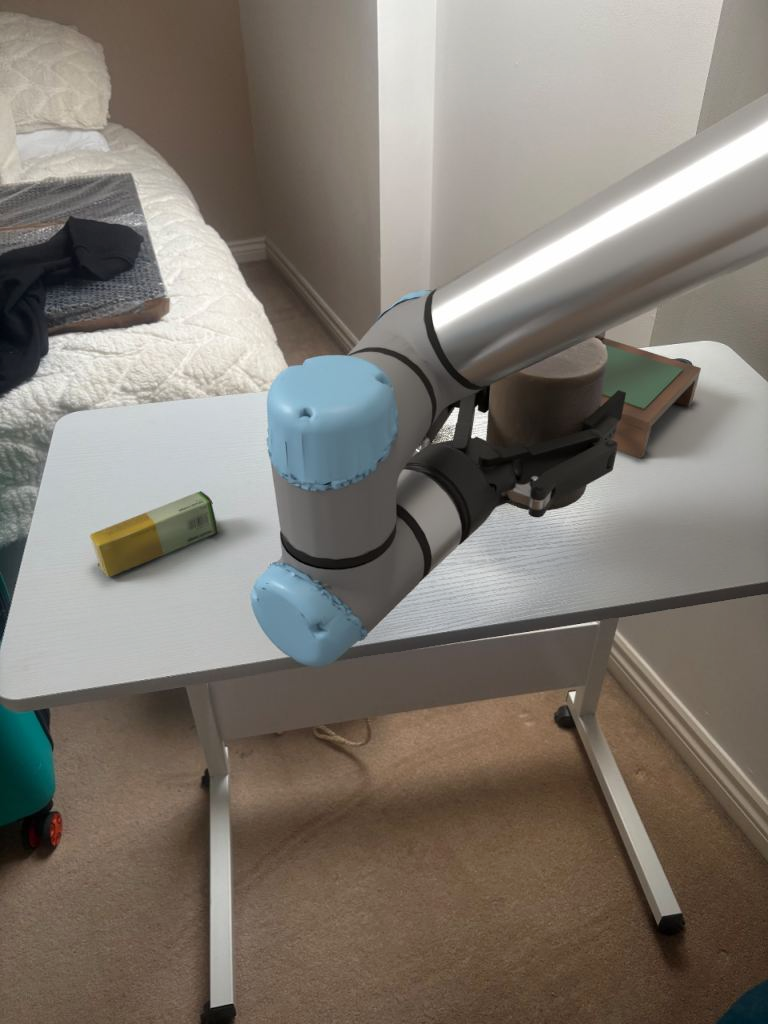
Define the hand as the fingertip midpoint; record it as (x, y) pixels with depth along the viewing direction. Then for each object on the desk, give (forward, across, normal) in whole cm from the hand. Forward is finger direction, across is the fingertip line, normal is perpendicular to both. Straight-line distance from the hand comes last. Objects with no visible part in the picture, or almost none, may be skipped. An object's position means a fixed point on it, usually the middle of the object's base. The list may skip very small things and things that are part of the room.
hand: (567, 386), depth 76 cm
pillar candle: (-4, 0, -8) cm, 9 cm away
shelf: (+24, -4, -16) cm, 29 cm away
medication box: (-28, -29, -16) cm, 43 cm away
